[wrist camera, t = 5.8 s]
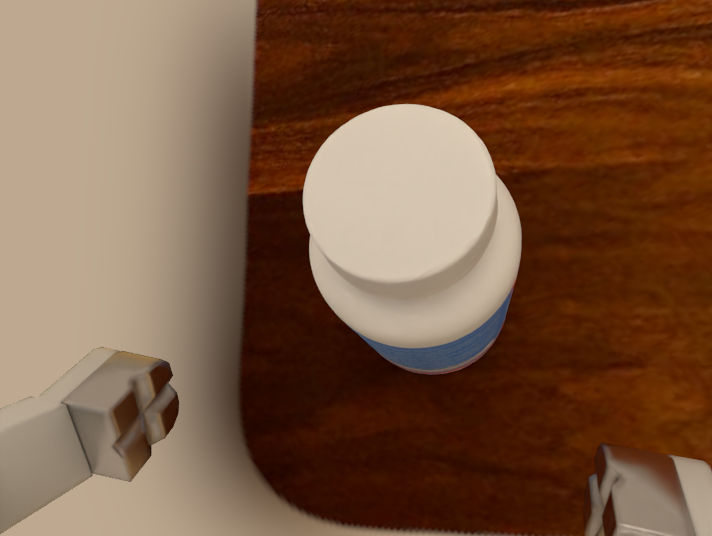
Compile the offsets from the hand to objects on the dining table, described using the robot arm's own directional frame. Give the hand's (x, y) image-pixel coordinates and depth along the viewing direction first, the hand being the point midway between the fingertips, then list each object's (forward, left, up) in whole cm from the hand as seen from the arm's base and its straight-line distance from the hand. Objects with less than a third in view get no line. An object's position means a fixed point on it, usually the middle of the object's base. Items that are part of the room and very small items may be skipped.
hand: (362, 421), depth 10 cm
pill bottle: (+3, +3, -10) cm, 11 cm away
